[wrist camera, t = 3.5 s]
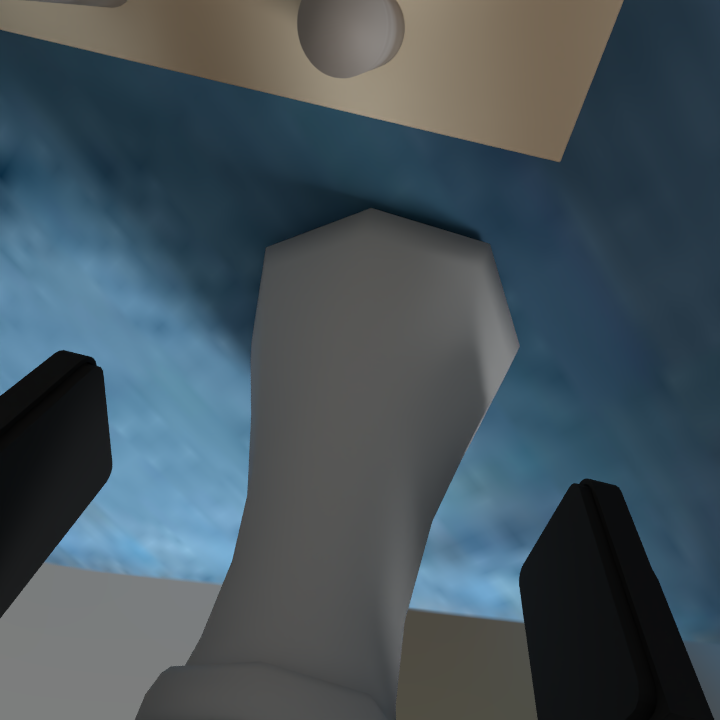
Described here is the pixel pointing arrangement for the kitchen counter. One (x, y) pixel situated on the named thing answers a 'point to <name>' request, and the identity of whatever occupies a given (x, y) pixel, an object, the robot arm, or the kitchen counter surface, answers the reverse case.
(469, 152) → the kitchen counter surface
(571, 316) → the kitchen counter surface
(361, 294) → the flask
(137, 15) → the four-post base plate
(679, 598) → the kitchen counter surface
